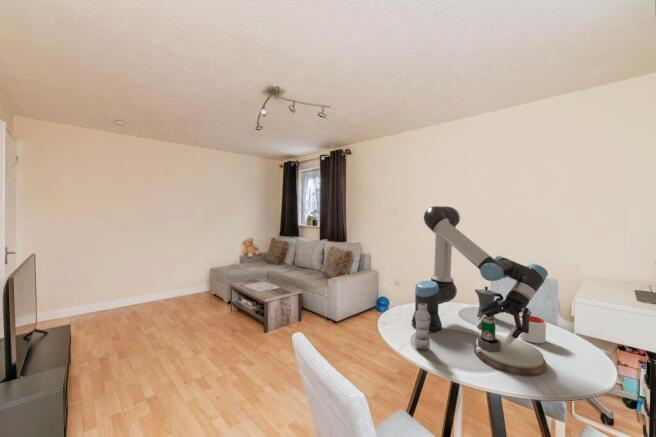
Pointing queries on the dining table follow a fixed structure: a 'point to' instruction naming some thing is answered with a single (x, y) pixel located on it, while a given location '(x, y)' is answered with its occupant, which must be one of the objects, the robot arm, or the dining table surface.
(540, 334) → the cup
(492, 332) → the soda can
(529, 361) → the dial
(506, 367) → the base
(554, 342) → the dining table surface
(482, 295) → the coffeepot
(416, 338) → the plastic bottle
